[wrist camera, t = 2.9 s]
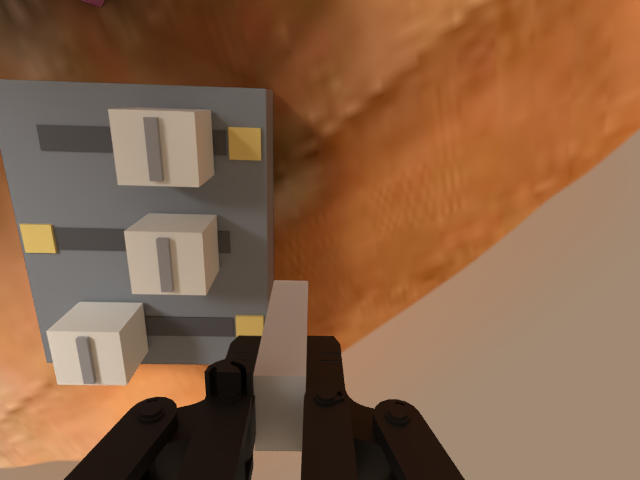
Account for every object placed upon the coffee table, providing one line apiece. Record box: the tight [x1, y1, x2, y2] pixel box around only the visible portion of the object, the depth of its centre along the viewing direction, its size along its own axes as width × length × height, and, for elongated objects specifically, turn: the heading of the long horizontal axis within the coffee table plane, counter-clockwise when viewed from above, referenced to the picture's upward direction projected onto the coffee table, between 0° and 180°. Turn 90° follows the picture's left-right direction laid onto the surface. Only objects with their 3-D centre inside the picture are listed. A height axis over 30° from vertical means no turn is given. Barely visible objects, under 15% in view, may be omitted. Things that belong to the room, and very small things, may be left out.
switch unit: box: [0, 79, 274, 365], centre depth 27 cm, size 15×18×5 cm
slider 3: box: [124, 213, 219, 295], centre depth 23 cm, size 4×4×4 cm
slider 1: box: [46, 302, 149, 385], centre depth 25 cm, size 4×4×4 cm
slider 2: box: [108, 107, 214, 187], centre depth 21 cm, size 4×4×4 cm
